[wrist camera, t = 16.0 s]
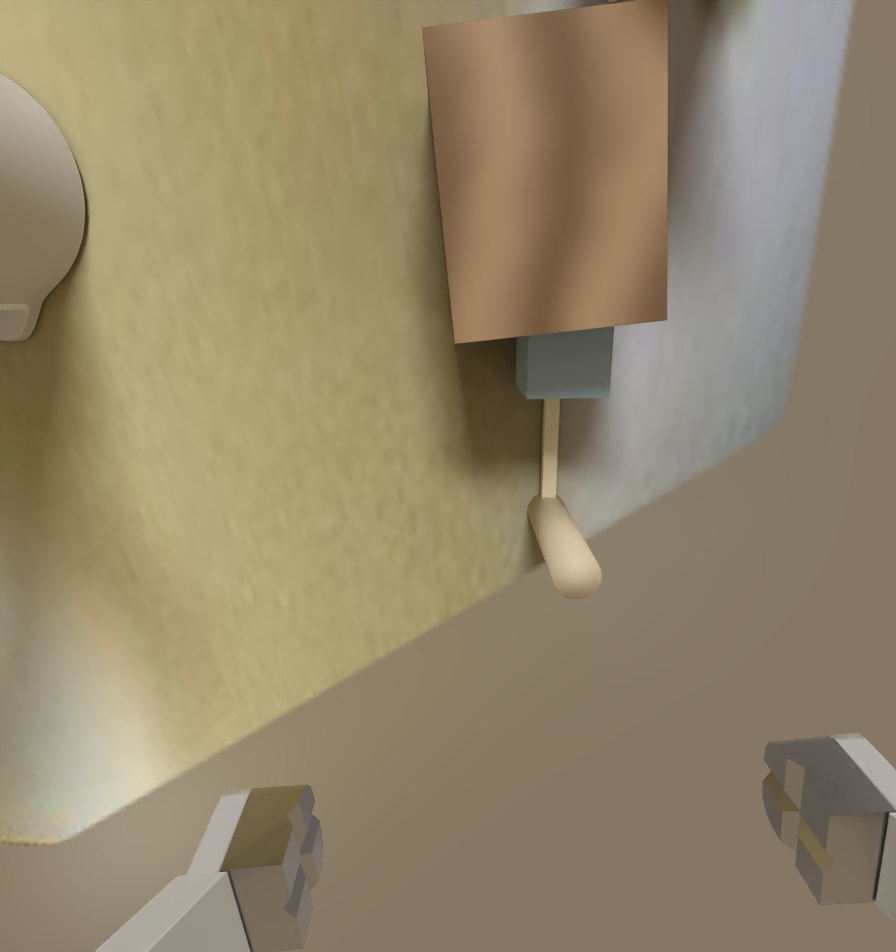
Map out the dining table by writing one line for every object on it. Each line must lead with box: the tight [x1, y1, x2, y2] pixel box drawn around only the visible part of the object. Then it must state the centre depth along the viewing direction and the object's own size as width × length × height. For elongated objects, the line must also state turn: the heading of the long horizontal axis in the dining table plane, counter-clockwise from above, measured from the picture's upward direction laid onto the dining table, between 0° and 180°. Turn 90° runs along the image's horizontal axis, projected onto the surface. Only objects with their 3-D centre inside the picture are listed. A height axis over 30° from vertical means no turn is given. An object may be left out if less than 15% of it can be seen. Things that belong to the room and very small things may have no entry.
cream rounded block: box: [516, 326, 614, 599], centre depth 37 cm, size 5×16×11 cm, turn 1°
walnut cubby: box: [422, 0, 668, 344], centre depth 33 cm, size 11×14×10 cm
